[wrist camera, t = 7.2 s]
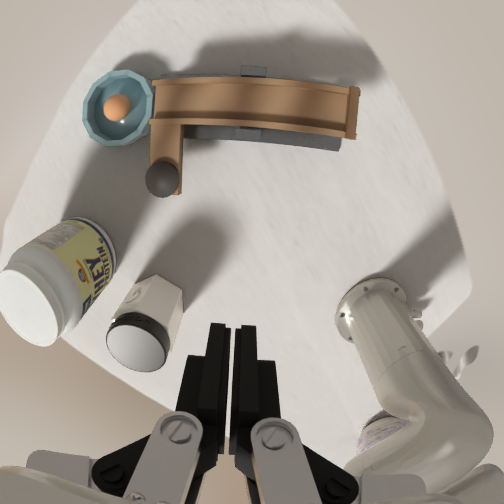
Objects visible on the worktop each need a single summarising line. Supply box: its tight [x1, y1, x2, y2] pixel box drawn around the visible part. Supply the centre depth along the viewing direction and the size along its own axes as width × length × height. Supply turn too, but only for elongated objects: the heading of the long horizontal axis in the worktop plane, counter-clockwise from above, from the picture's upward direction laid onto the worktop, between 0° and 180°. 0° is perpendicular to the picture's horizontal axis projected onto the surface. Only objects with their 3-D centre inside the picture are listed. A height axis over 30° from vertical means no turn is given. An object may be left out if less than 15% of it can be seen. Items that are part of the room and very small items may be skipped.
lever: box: [145, 77, 361, 198], centre depth 28 cm, size 22×13×3 cm, turn 86°
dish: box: [82, 69, 156, 146], centre depth 31 cm, size 10×10×3 cm
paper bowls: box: [354, 417, 409, 455], centre depth 57 cm, size 15×15×8 cm
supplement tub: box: [0, 217, 116, 346], centre depth 33 cm, size 12×12×17 cm
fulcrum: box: [161, 66, 340, 152], centre depth 30 cm, size 23×8×8 cm, turn 85°
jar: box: [106, 274, 183, 372], centre depth 38 cm, size 9×8×12 cm
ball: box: [104, 94, 131, 121], centre depth 30 cm, size 4×4×4 cm
